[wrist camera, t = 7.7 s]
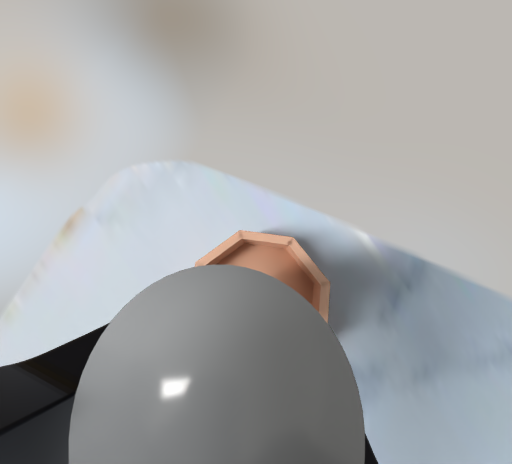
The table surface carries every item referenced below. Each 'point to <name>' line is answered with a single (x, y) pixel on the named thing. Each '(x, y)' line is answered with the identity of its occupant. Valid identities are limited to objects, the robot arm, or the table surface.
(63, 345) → the robot arm
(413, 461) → the table surface
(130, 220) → the table surface
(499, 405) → the table surface
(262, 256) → the terracotta bowl
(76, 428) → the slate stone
